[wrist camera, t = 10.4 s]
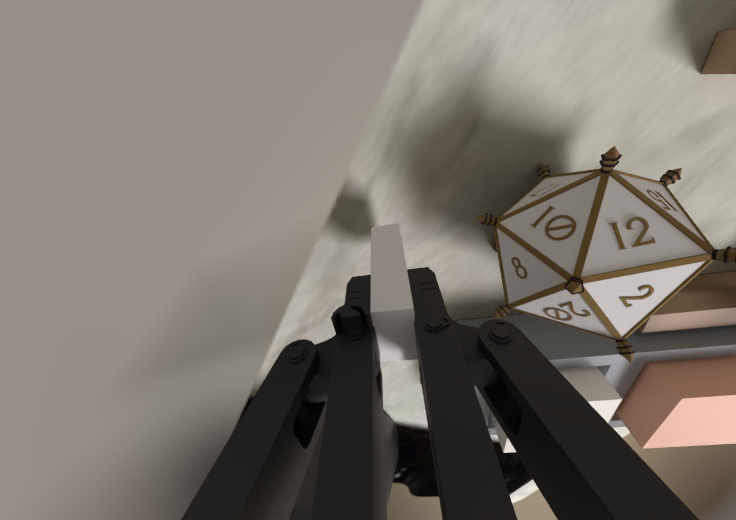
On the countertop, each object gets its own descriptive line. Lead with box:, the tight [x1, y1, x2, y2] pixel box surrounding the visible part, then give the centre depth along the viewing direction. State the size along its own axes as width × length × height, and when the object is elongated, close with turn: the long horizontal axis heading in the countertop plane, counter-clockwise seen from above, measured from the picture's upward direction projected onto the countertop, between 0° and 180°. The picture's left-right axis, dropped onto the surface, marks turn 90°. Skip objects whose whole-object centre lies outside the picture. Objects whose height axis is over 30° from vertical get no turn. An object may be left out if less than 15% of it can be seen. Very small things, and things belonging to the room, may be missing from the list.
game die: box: [476, 146, 736, 363], centre depth 13 cm, size 9×8×10 cm
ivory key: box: [490, 366, 622, 453], centre depth 19 cm, size 6×6×3 cm
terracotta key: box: [616, 355, 736, 448], centre depth 18 cm, size 6×6×3 cm
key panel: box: [456, 314, 736, 435], centre depth 21 cm, size 19×9×4 cm, turn 99°
